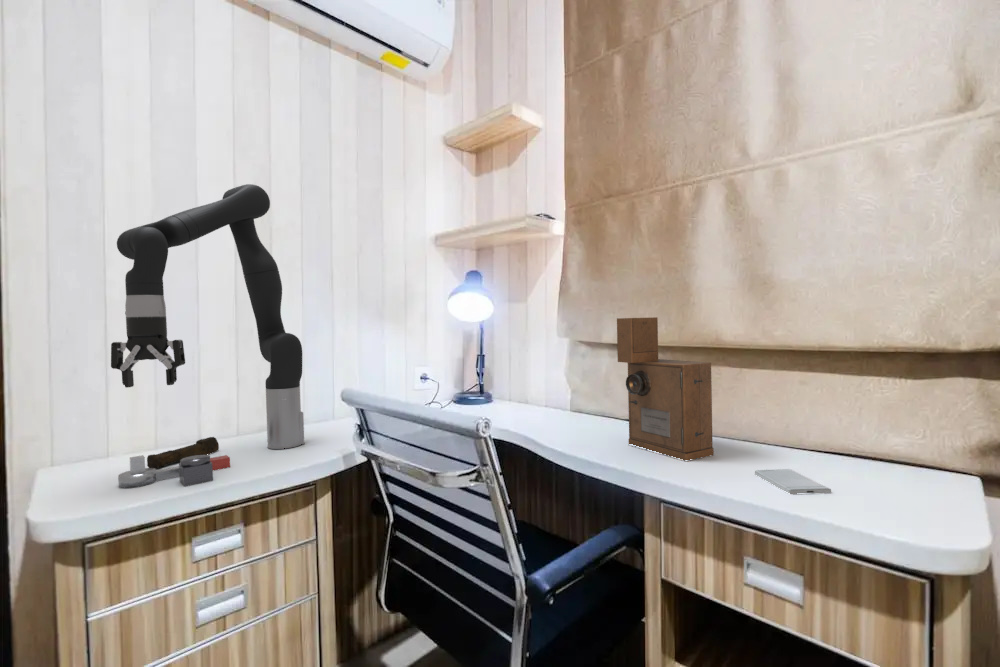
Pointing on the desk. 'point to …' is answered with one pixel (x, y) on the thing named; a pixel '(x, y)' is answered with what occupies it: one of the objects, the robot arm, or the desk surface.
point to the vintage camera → (664, 394)
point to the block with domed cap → (195, 470)
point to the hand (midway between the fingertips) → (150, 385)
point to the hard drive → (791, 481)
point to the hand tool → (183, 453)
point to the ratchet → (157, 472)
